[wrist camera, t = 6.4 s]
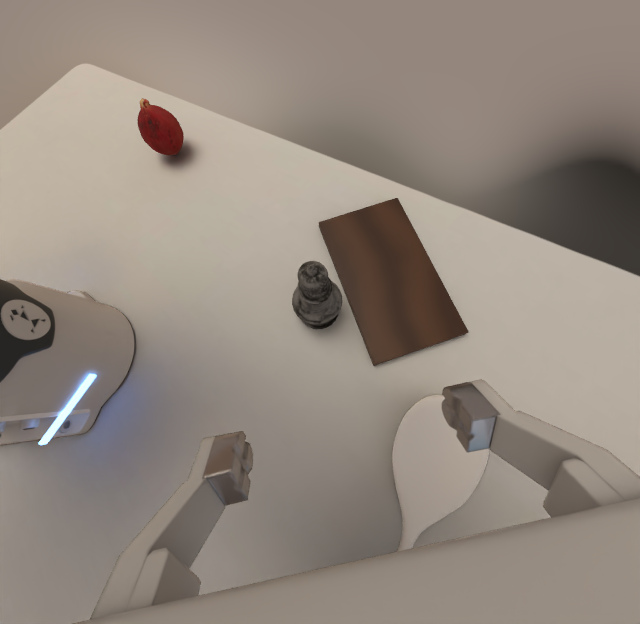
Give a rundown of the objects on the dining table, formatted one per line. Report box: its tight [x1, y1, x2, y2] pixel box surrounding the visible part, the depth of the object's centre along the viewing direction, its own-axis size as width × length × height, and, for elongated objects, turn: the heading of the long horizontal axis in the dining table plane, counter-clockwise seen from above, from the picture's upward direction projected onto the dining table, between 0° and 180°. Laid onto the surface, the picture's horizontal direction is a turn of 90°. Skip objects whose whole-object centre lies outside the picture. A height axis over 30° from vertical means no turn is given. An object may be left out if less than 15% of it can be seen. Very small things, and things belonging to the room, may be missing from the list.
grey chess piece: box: [292, 261, 342, 329], centre depth 27 cm, size 6×6×12 cm
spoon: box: [392, 395, 489, 552], centre depth 23 cm, size 9×32×3 cm, turn 149°
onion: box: [138, 98, 183, 155], centre depth 38 cm, size 6×6×8 cm
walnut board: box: [319, 198, 468, 365], centre depth 33 cm, size 12×21×1 cm, turn 19°
